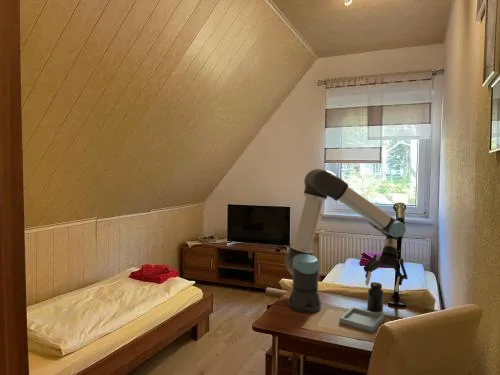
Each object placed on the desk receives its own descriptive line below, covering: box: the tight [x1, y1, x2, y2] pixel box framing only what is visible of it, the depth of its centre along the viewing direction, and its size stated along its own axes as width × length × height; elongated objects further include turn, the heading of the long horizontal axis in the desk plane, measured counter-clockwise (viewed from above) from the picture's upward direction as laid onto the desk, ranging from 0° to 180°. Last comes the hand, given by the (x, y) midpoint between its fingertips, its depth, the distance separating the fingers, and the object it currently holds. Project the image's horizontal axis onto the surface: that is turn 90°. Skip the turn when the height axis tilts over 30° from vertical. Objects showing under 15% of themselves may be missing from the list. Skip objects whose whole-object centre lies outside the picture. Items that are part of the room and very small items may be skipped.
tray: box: [338, 306, 385, 334], centre depth 156 cm, size 14×15×2 cm
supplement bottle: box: [366, 281, 385, 313], centre depth 170 cm, size 7×7×12 cm
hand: (381, 287), depth 173 cm, fingers open, 13 cm apart
